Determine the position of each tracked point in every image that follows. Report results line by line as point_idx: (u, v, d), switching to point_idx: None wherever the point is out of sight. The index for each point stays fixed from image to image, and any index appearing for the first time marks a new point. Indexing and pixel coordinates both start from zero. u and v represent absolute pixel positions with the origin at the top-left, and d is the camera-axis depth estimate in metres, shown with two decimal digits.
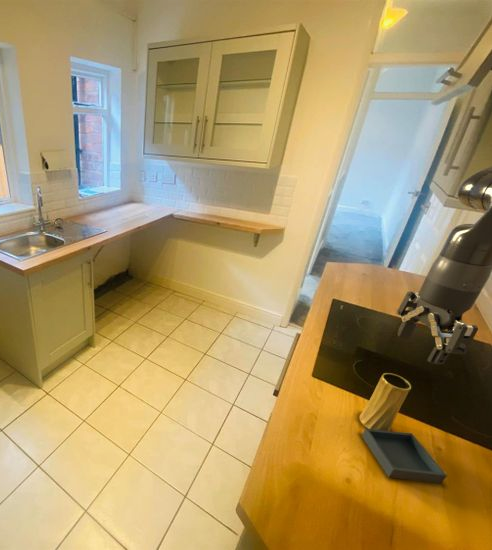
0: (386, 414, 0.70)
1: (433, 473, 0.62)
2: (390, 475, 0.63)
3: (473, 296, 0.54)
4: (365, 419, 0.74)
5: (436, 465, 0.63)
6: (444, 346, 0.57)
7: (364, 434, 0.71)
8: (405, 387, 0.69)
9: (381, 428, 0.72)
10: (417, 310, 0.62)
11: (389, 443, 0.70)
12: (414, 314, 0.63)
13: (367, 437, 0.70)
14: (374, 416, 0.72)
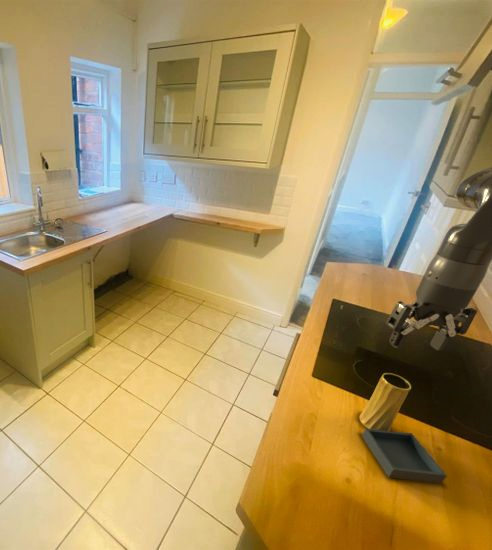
0: (386, 414, 0.70)
1: (433, 473, 0.62)
2: (390, 475, 0.63)
3: (432, 286, 0.58)
4: (365, 419, 0.74)
5: (436, 465, 0.63)
6: None
7: (364, 434, 0.71)
8: (405, 387, 0.69)
9: (381, 428, 0.72)
10: None
11: (389, 443, 0.70)
12: None
13: (367, 437, 0.70)
14: (374, 416, 0.72)
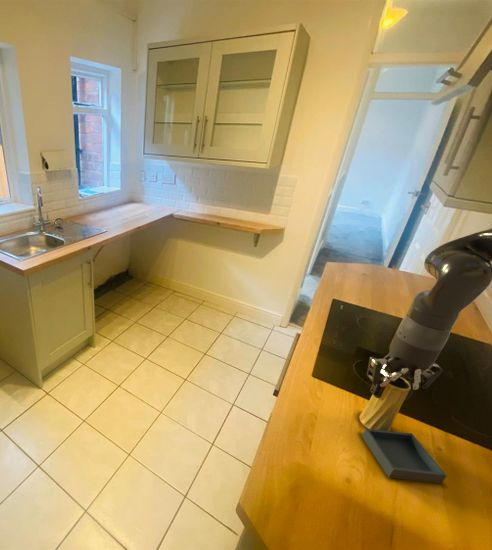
0: (386, 414, 0.70)
1: (433, 473, 0.62)
2: (390, 475, 0.63)
3: (401, 344, 0.64)
4: (365, 419, 0.74)
5: (436, 465, 0.63)
6: None
7: (364, 434, 0.71)
8: (405, 387, 0.69)
9: (381, 428, 0.72)
10: None
11: (389, 443, 0.70)
12: None
13: (367, 437, 0.70)
14: (374, 416, 0.72)
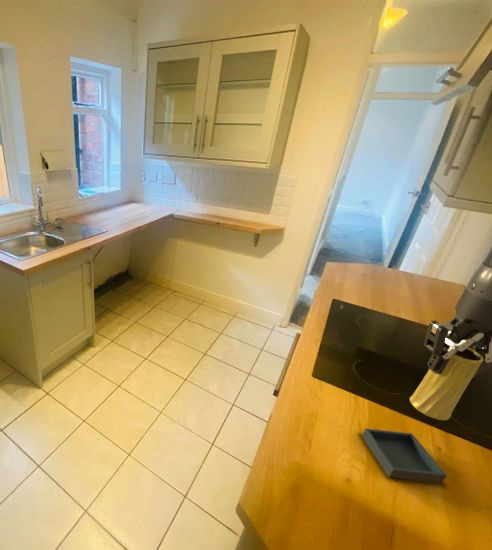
0: (449, 394, 0.56)
1: (433, 473, 0.62)
2: (390, 475, 0.63)
3: (475, 301, 0.50)
4: (419, 402, 0.60)
5: (436, 465, 0.63)
6: None
7: (364, 434, 0.71)
8: (474, 360, 0.55)
9: (441, 412, 0.58)
10: None
11: (389, 443, 0.70)
12: None
13: (367, 437, 0.70)
14: (432, 397, 0.58)
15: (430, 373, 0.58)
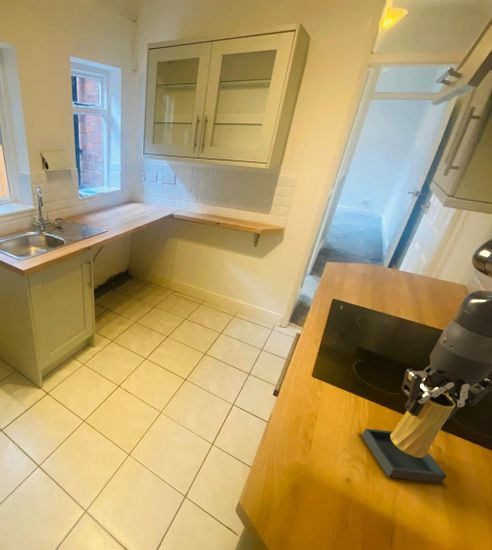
0: (425, 435, 0.61)
1: (433, 473, 0.62)
2: (390, 475, 0.63)
3: (446, 354, 0.54)
4: (398, 439, 0.65)
5: (436, 465, 0.63)
6: None
7: (364, 434, 0.71)
8: (447, 404, 0.60)
9: (418, 451, 0.62)
10: None
11: (389, 443, 0.70)
12: None
13: (367, 437, 0.70)
14: (409, 437, 0.62)
15: (408, 414, 0.63)
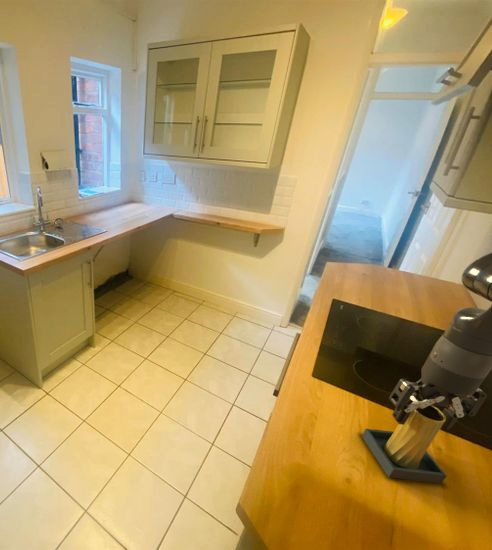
0: (416, 448, 0.62)
1: (433, 473, 0.62)
2: (390, 475, 0.63)
3: (437, 369, 0.56)
4: (391, 451, 0.66)
5: (436, 465, 0.63)
6: None
7: (364, 434, 0.71)
8: (438, 418, 0.61)
9: (410, 463, 0.64)
10: None
11: None
12: None
13: (367, 437, 0.70)
14: (402, 449, 0.64)
15: (400, 427, 0.64)
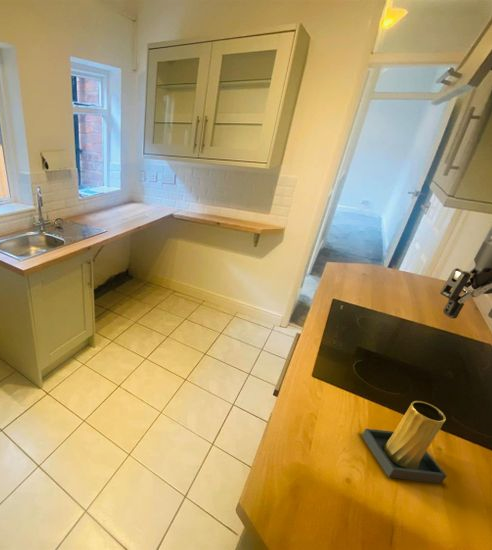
0: (416, 448, 0.62)
1: (433, 473, 0.62)
2: (390, 475, 0.63)
3: None
4: (391, 451, 0.66)
5: (436, 465, 0.63)
6: None
7: (364, 434, 0.71)
8: (438, 418, 0.61)
9: (410, 463, 0.64)
10: None
11: None
12: None
13: (367, 437, 0.70)
14: (402, 449, 0.64)
15: (400, 427, 0.64)
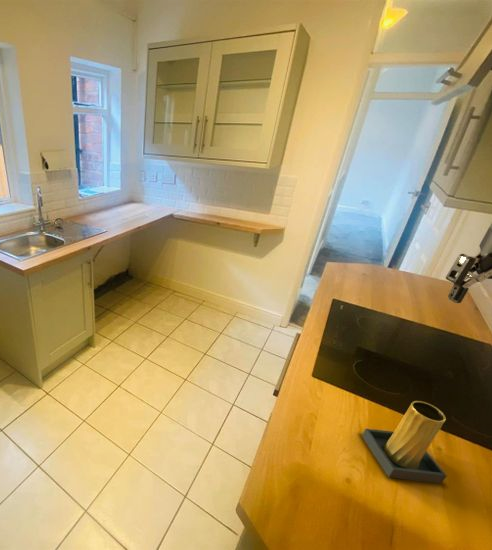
0: (416, 448, 0.62)
1: (433, 473, 0.62)
2: (390, 475, 0.63)
3: None
4: (391, 451, 0.66)
5: (436, 465, 0.63)
6: None
7: (364, 434, 0.71)
8: (438, 418, 0.61)
9: (410, 463, 0.64)
10: None
11: None
12: None
13: (367, 437, 0.70)
14: (402, 449, 0.64)
15: (400, 427, 0.64)
